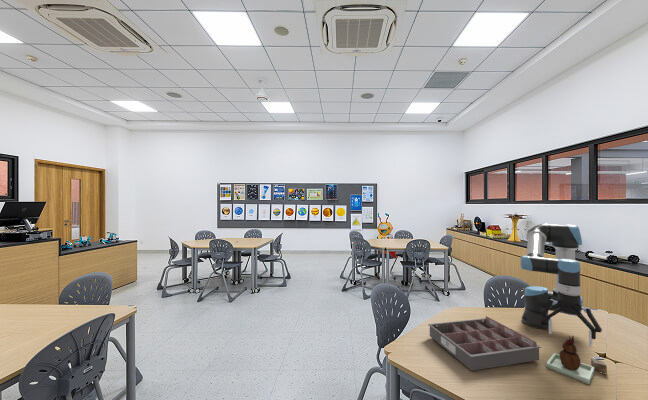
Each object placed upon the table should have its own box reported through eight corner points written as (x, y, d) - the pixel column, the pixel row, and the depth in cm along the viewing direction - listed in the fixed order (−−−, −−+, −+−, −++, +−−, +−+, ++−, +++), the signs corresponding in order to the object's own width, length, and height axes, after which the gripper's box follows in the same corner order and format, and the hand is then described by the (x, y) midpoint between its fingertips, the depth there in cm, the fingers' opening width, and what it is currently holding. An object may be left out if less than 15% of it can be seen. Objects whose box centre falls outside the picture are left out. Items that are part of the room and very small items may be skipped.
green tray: (546, 367, 119) (546, 363, 119) (554, 356, 127) (554, 352, 127) (589, 384, 108) (589, 379, 108) (594, 371, 116) (594, 367, 116)
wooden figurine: (575, 365, 119) (574, 333, 119) (583, 373, 114) (582, 339, 114) (557, 362, 121) (556, 331, 122) (564, 370, 116) (563, 337, 116)
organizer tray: (427, 338, 145) (427, 320, 145) (486, 331, 153) (486, 314, 153) (470, 374, 114) (470, 352, 114) (542, 363, 122) (541, 342, 122)
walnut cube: (594, 371, 116) (594, 362, 116) (591, 366, 120) (591, 358, 120) (606, 374, 114) (606, 365, 114) (603, 369, 118) (603, 361, 118)
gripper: (532, 287, 126) (533, 330, 126) (608, 303, 106) (608, 354, 106) (537, 284, 130) (538, 325, 130) (610, 299, 110) (611, 348, 110)
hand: (569, 338), depth 118 cm, fingers open, 13 cm apart
